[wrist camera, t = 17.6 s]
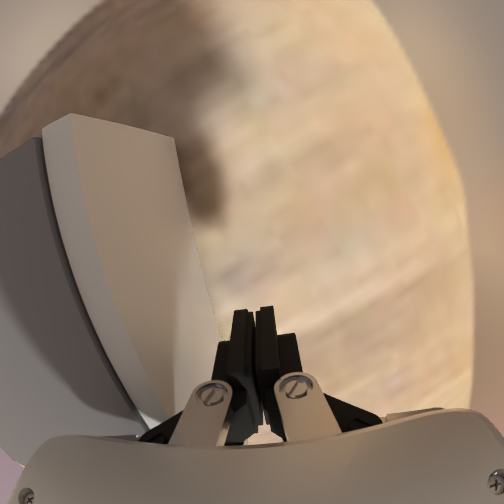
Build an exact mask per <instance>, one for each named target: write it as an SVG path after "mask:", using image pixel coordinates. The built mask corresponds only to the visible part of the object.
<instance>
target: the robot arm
mask: <svg viewBox="0 0 504 504" xmlns="http://www.w3.org/2000/svg"><path fill="white" fill-rule="evenodd" d="M263 411H264V416H265V420H266V424H267V425H268V424H270V427H271V431H272V432H273V433H275V434H276V435H278V436H280V437H281V438H282V442H281V443H271V444H258V445H248V438H249V437H250V436H251V435H253V434H254V433H258V425H263ZM8 504H504V437H503V436H502V434H501V433H500V432H499V430H498V429H497V428H496V427H495V426H494V424H493V423H492V422H491V421H490V420H489V419H488V418H487V417H486V416H484V415H483V414H482V413H480V412H478V411H475V410H472V409H464V408H455V409H444V408H430V409H423V410H417V411H409V412H401V413H392V414H387V415H386V417H380V418H379V417H378V416H377V415H375V414H373V413H371V412H368V411H366V410H363V409H360V408H358V407H355V406H353V405H351V404H348V403H346V402H343V401H341V400H339V399H336V398H334V397H331V396H329V395H327V394H325V393H323V392H322V390H321V388H320V386H319V384H318V382H317V380H316V379H315V378H314V377H313V376H312V375H310V374H307V373H304V372H303V371H302V366H301V361H300V355H299V350H298V345H297V340H296V335H295V333H289V334H282V335H277V331H276V323H275V316H274V309H273V306H267V307H260V311H256V327H255V322H254V316H253V312H248V310H247V309H243V310H235V311H234V315H233V323H232V330H231V337H230V341H220V342H219V343H218V346H217V352H216V357H215V362H214V367H213V372H212V378H211V380H210V381H206V382H204V383H202V384H199V385H198V386H197V387H196V388H195V389H194V390H193V392H192V393H191V395H190V398H189V400H188V402H187V404H186V406H185V408H184V410H182V411H181V412H179V413H177V414H176V415H174V416H173V417H171V418H169V419H168V420H166V421H164V422H162V423H161V424H159V425H157V426H156V427H154V428H152V429H150V430H149V431H147V432H146V433H144V434H143V435H142V436H141V437H138V436H137V434H136V435H121V436H91V435H64V436H57V437H53V438H50V439H48V440H46V441H45V442H44V443H42V444H41V445H40V446H39V447H38V449H37V450H36V451H35V453H34V454H33V456H32V457H31V458H30V460H29V462H28V463H27V465H26V467H25V469H24V471H23V472H22V474H21V476H20V478H19V480H18V482H17V484H16V486H15V488H14V490H13V493H12V495H11V497H10V499H9V502H8Z"/></svg>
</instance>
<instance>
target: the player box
mask: <svg viewBox="0 0 504 504" xmlns="http://www.w3.org/2000/svg"><path fill="white" fill-rule="evenodd" d="M149 430H150V428H149V427H148V425H147V424H146V422H145V420H144V419H143V417H142V416H141V414H140V413H139V411H138V410H137V408H136V406H135V405H134V403H133V401H132V400H131V398H130V396H129V395H128V393H127V391H126V389H125V388H124V386H123V384H122V382H121V381H120V379H119V377H118V375H117V373H116V371H115V369H114V368H113V366H112V364H111V362H110V360H109V358H108V356H107V354H106V352H105V350H104V348H103V346H102V344H101V341H100V339H99V337H98V335H97V333H96V331H95V328H94V326H93V324H92V321H91V319H90V317H89V314H88V312H87V310H86V307H85V305H84V302H83V300H82V297H81V294H80V292H79V289H78V286H77V284H76V281H75V278H74V275H73V272H72V269H71V266H70V263H69V260H68V257H67V254H66V250H65V247H64V244H63V240H62V237H61V233H60V229H59V225H58V222H57V218H56V213H55V209H54V205H53V200H52V195H51V191H50V185H49V180H48V174H47V168H46V162H45V155H44V147H43V139H42V138H35V137H34V138H33V139H31V140H29V141H28V142H26V143H24V144H23V145H21V146H20V147H18V148H16V149H15V150H13V151H12V152H10V153H9V154H7V155H6V156H4V157H3V158H1V159H0V447H1V448H2V449H3V450H4V451H5V452H6V453H7V454H8V455H9V456H10V457H11V458H12V459H13V460H14V461H16V462H18V463H20V464H22V465H24V466H26V465H27V463H28V462H29V460H30V458H31V457H32V456H33V454H34V453H35V451H36V450H37V449H38V447H39V446H40V445H41V444H42V443H44V442H45V441H46V440H48V439H50V438H53V437H57V436H64V435H91V436H121V435H136V434H137V436H138V437H141V436H142V435H143V434H144V433H146V432H147V431H149Z"/></svg>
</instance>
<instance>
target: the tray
mask: <svg viewBox="0 0 504 504" xmlns="http://www.w3.org/2000/svg"><path fill="white" fill-rule="evenodd" d="M42 139H43V147H44V155H45V162H46V168H47V174H48V180H49V185H50V191H51V195H52V200H53V205H54V209H55V213H56V218H57V222H58V225H59V229H60V233H61V237H62V240H63V244H64V247H65V250H66V254H67V257H68V260H69V263H70V266H71V269H72V272H73V275H74V278H75V281H76V284H77V286H78V289H79V292H80V294H81V297H82V300H83V302H84V305H85V307H86V310H87V312H88V314H89V317H90V319H91V321H92V324H93V326H94V328H95V331H96V333H97V335H98V337H99V339H100V341H101V344H102V346H103V348H104V350H105V352H106V354H107V356H108V358H109V360H110V362H111V364H112V366H113V368H114V369H115V371H116V373H117V375H118V377H119V379H120V381H121V382H122V384H123V386H124V388H125V389H126V391H127V393H128V395H129V396H130V398H131V400H132V401H133V403H134V405H135V406H136V408H137V410H138V411H139V413H140V414H141V416H142V417H143V419H144V420H145V422H146V424H147V425H148V427H149V428H150V429H152V428H154V427H156V426H157V425H159V424H161V423H162V422H164V421H166V420H168V419H169V418H171V417H173V416H174V415H176V414H177V413H179V412H181V411H182V410H184V408H185V406H186V404H187V402H188V400H189V398H190V395H191V393H192V392H193V390H194V389H195V388H196V387H197V386H198V385H199V384H202V383H204V382H206V381H210V380H211V378H212V372H213V367H214V362H215V357H216V352H217V346H218V343H219V342H220V341H221V337H220V334H219V330H218V326H217V323H216V319H215V316H214V312H213V308H212V305H211V301H210V297H209V293H208V289H207V286H206V282H205V278H204V274H203V270H202V266H201V262H200V258H199V254H198V249H197V245H196V241H195V237H194V232H193V228H192V224H191V219H190V215H189V210H188V206H187V201H186V196H185V192H184V187H183V182H182V177H181V172H180V167H179V162H178V157H177V151H176V146H175V141H174V138H173V137H169V136H166V135H162V134H159V133H155V132H151V131H147V130H144V129H140V128H136V127H132V126H128V125H124V124H120V123H115V122H111V121H107V120H102V119H98V118H93V117H88V116H83V115H78V114H73V113H69V114H67V115H65V116H63V117H62V118H60V119H58V120H56V121H54V122H52V123H50V124H49V125H47V126H45V127H43V128H42Z"/></svg>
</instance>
